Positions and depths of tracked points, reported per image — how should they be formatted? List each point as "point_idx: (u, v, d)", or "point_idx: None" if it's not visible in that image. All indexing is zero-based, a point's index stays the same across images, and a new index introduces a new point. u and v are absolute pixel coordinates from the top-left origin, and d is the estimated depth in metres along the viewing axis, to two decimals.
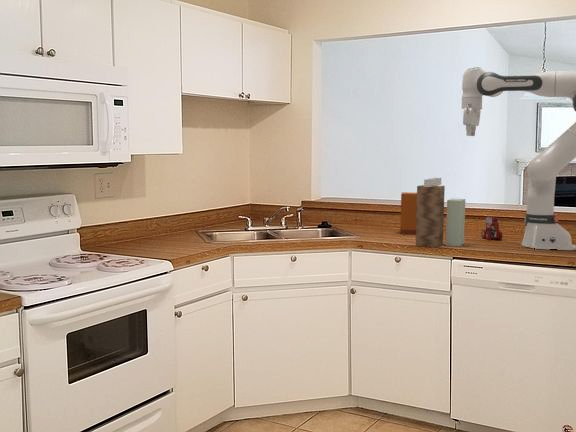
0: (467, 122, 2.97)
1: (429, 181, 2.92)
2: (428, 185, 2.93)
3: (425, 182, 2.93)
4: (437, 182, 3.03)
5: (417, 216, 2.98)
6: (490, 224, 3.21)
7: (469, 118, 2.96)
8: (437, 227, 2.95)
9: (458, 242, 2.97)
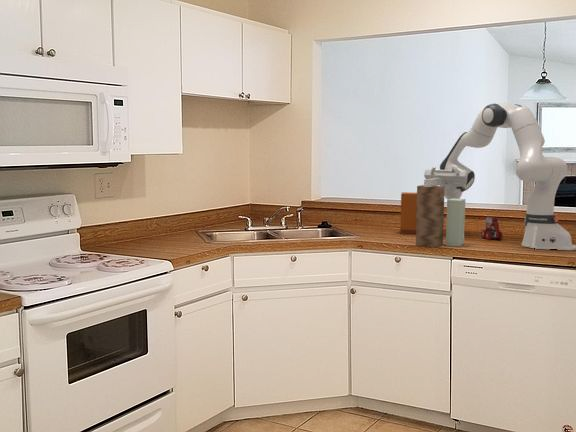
0: None
1: (429, 181, 2.92)
2: (428, 185, 2.93)
3: (425, 182, 2.93)
4: (437, 182, 3.03)
5: (417, 216, 2.98)
6: (490, 224, 3.21)
7: None
8: (437, 227, 2.95)
9: (458, 242, 2.97)
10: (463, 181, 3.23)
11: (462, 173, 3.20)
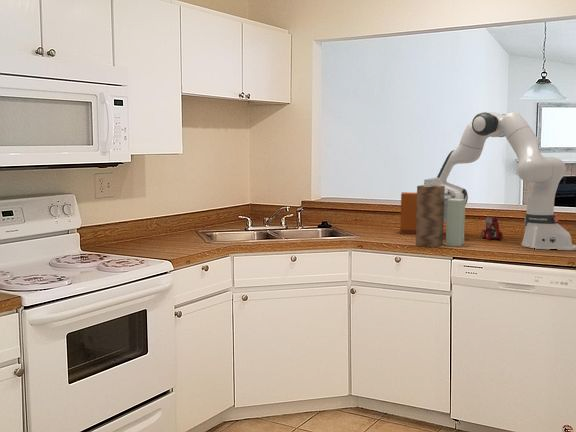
0: None
1: (429, 181, 2.92)
2: (428, 185, 2.93)
3: (425, 182, 2.93)
4: (437, 182, 3.03)
5: (417, 216, 2.98)
6: (490, 224, 3.21)
7: None
8: (437, 227, 2.95)
9: (458, 242, 2.97)
10: None
11: (458, 195, 3.13)
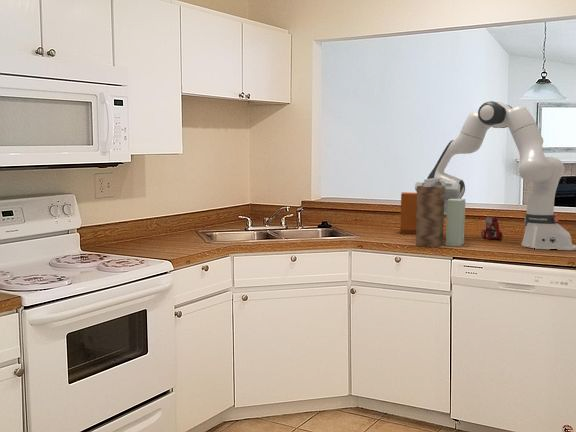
0: (415, 185, 3.14)
1: (429, 181, 2.92)
2: (428, 185, 2.93)
3: (425, 182, 2.93)
4: (437, 182, 3.03)
5: (417, 216, 2.98)
6: (490, 224, 3.21)
7: None
8: (437, 227, 2.95)
9: (458, 242, 2.97)
10: (455, 194, 3.08)
11: (454, 186, 3.05)
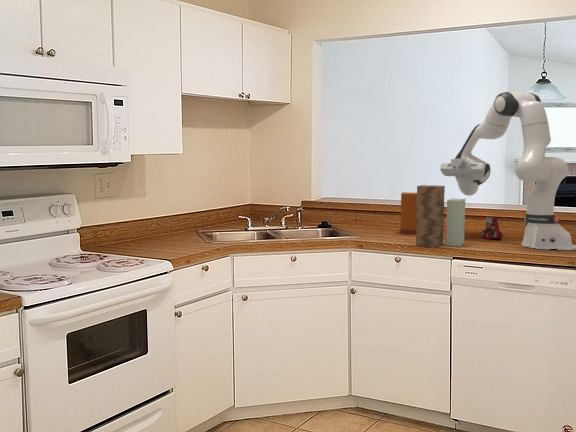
0: None
1: (456, 160, 3.01)
2: (455, 164, 3.01)
3: (452, 161, 3.02)
4: None
5: (417, 216, 2.98)
6: (490, 224, 3.21)
7: None
8: (437, 227, 2.95)
9: (458, 242, 2.97)
10: (480, 174, 3.17)
11: (479, 166, 3.14)
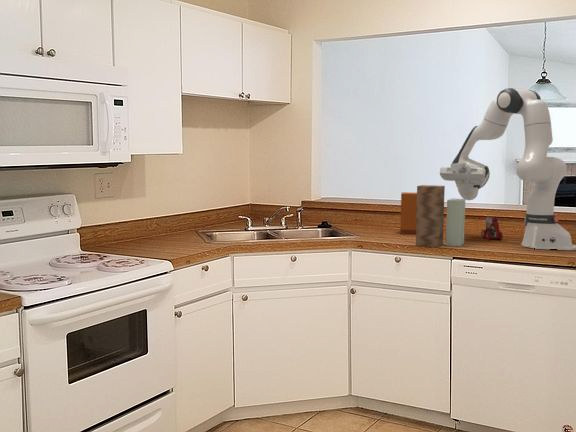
0: (440, 170, 3.14)
1: (456, 165, 2.93)
2: (454, 169, 2.93)
3: (451, 166, 2.93)
4: None
5: (417, 216, 2.98)
6: (490, 224, 3.21)
7: None
8: (437, 227, 2.95)
9: (458, 242, 2.97)
10: (481, 179, 3.08)
11: (479, 171, 3.05)
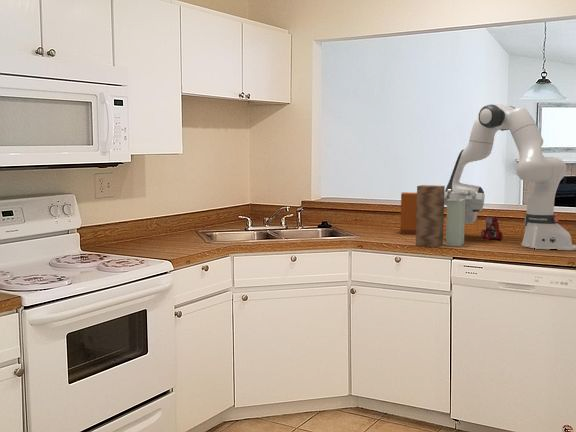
0: None
1: (455, 195, 2.94)
2: (454, 199, 2.94)
3: (451, 196, 2.95)
4: (462, 195, 3.05)
5: (417, 216, 2.98)
6: (490, 224, 3.21)
7: None
8: (437, 227, 2.95)
9: (458, 242, 2.97)
10: (480, 204, 3.09)
11: (479, 196, 3.06)
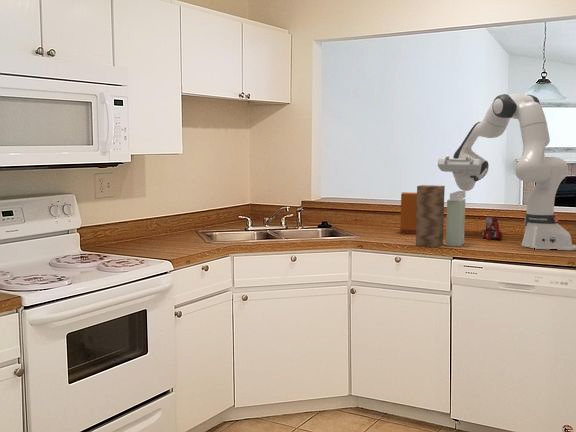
0: (438, 161, 3.27)
1: (455, 195, 2.94)
2: (454, 199, 2.94)
3: (451, 196, 2.95)
4: (462, 195, 3.05)
5: (417, 216, 2.98)
6: (490, 224, 3.21)
7: None
8: (437, 227, 2.95)
9: (458, 242, 2.97)
10: (477, 170, 3.21)
11: (476, 162, 3.18)
